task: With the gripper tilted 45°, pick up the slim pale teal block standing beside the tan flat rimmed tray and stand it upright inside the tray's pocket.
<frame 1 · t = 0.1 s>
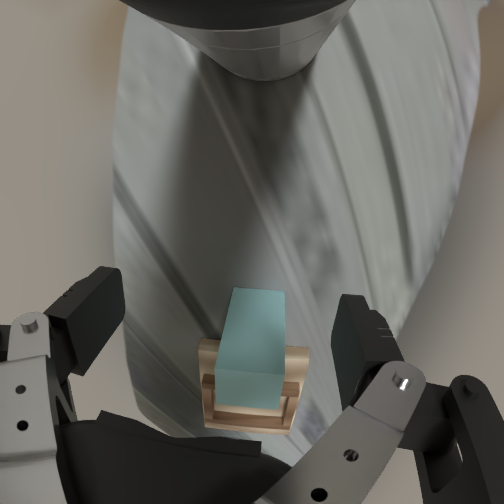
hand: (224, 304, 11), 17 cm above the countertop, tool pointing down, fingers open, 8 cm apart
tan flat rimmed tray: (251, 388, 38), on the countertop
pale teal block: (257, 307, 32), on the countertop
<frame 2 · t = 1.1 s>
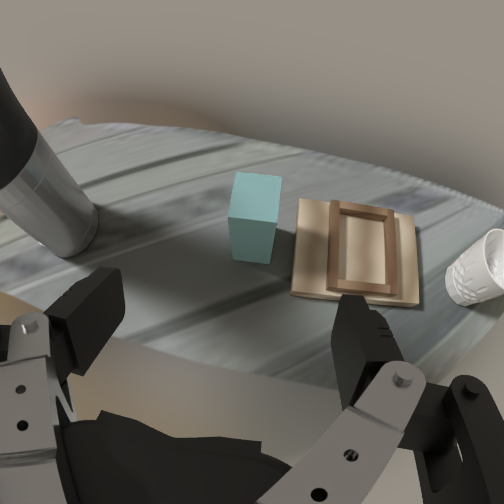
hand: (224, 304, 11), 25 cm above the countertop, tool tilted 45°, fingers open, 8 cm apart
white cup: (461, 284, 38), on the countertop
tan flat rimmed tray: (356, 256, 39), on the countertop
pale teal block: (253, 243, 39), on the countertop
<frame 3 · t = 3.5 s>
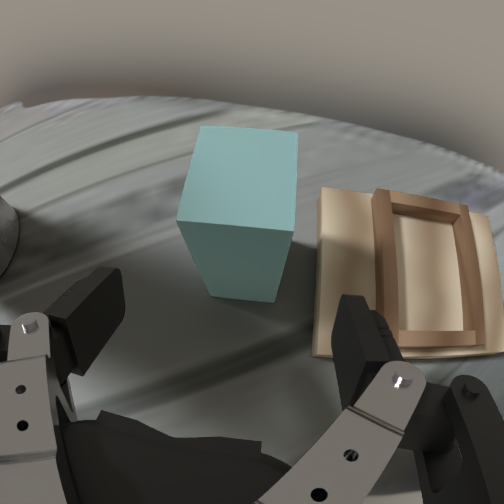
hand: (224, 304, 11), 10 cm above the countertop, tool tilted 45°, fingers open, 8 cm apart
tan flat rimmed tray: (414, 281, 22), on the countertop
pale teal block: (246, 265, 23), on the countertop
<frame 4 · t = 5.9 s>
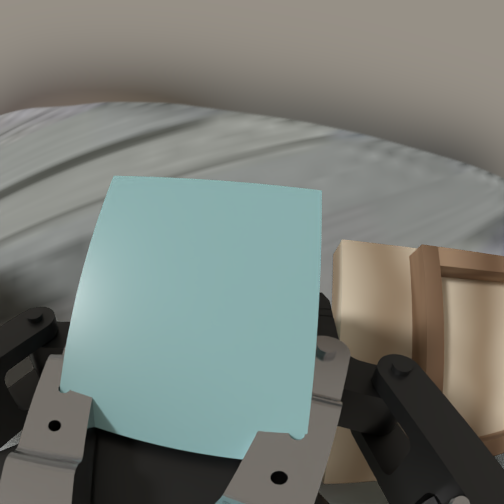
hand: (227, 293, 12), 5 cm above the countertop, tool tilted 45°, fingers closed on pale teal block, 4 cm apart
tan flat rimmed tray: (454, 362, 15), on the countertop
pale teal block: (230, 353, 15), on the countertop, touching gripper
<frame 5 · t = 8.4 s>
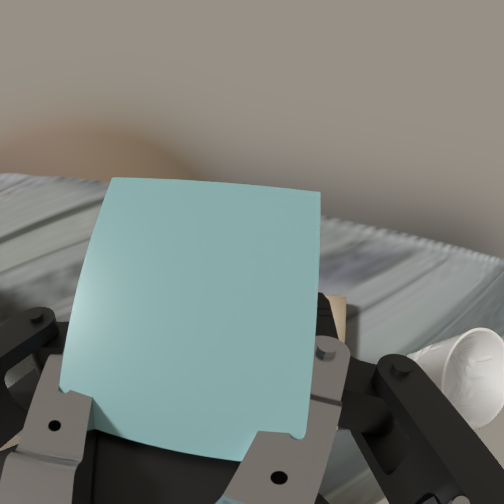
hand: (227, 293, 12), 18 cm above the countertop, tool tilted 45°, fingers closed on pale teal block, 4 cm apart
white cup: (418, 383, 26), on the countertop
tan flat rimmed tray: (251, 358, 27), on the countertop
pale teal block: (230, 354, 15), point 13 cm above the countertop, touching gripper
when the fingers open (8 cm above the countertop, at t = 11.1 s): pale teal block drops 1 cm, resting on tan flat rimmed tray.
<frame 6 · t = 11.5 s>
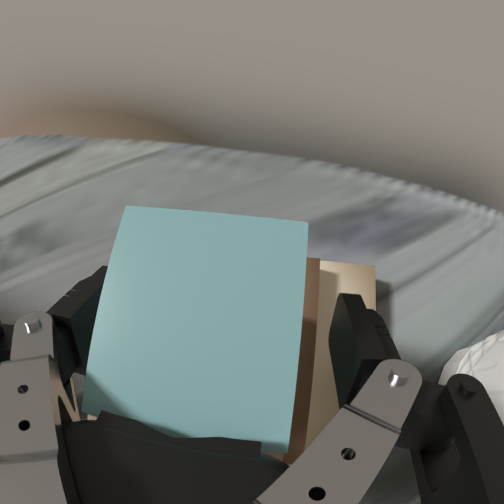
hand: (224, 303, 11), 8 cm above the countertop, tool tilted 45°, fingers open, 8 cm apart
white cup: (468, 390, 17), on the countertop
tan flat rimmed tray: (233, 357, 18), on the countertop
pale teal block: (230, 356, 16), point 2 cm above the countertop, touching tan flat rimmed tray
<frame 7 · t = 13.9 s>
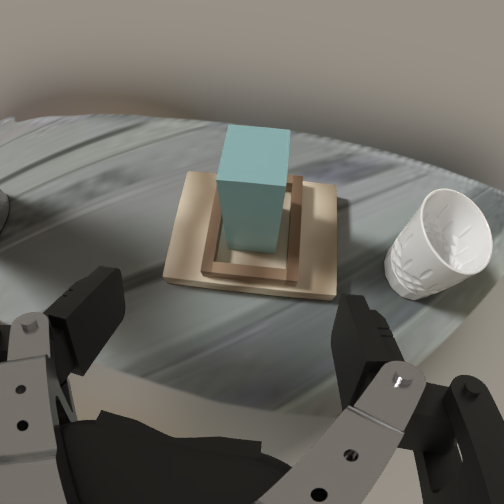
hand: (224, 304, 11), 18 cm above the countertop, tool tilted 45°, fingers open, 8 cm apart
white cup: (409, 270, 31), on the countertop
tan flat rimmed tray: (255, 235, 32), on the countertop
pale teal block: (254, 227, 31), point 2 cm above the countertop, touching tan flat rimmed tray
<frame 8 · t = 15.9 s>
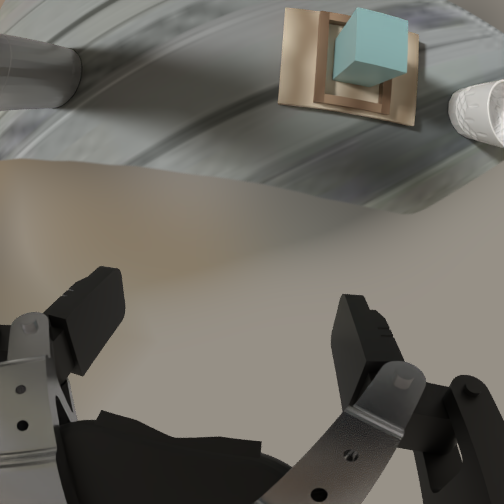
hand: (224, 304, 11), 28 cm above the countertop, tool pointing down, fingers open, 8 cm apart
white cup: (466, 113, 31), on the countertop
tan flat rimmed tray: (349, 66, 31), on the countertop
pale teal block: (352, 63, 29), point 2 cm above the countertop, touching tan flat rimmed tray
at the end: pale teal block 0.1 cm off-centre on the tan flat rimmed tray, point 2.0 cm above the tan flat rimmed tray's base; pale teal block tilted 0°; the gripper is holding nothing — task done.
